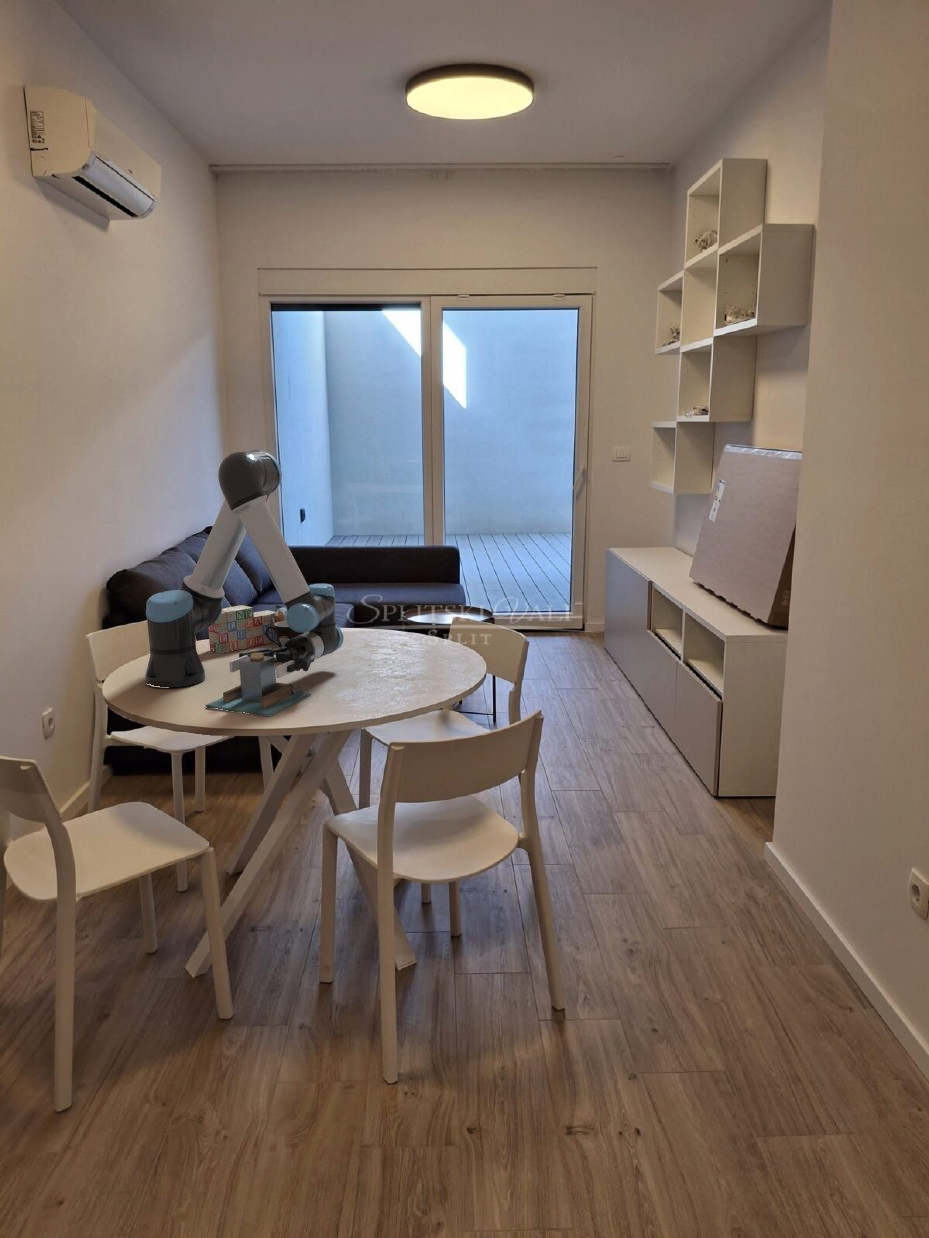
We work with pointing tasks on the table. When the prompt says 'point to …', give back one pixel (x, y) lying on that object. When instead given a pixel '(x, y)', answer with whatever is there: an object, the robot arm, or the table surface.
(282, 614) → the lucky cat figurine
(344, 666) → the table surface
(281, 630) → the coffee mug
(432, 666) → the table surface
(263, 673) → the grey block with knob
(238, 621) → the stack of blocks
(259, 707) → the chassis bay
